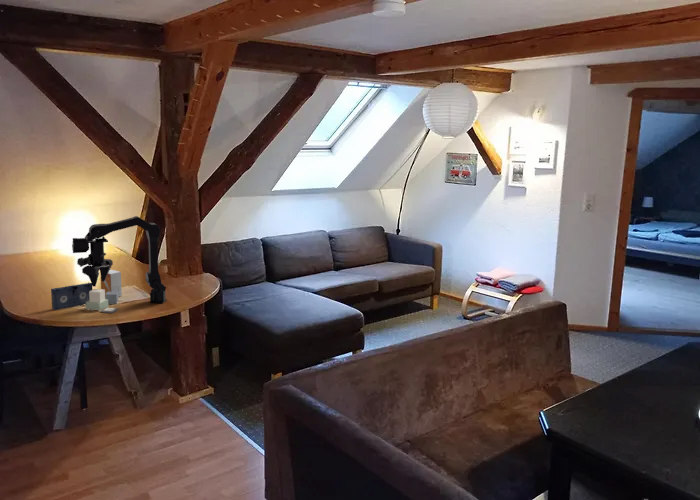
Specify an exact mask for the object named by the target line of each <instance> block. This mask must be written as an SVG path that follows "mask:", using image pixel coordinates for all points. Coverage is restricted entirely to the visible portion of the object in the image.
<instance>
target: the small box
mask: <svg viewBox="0 0 700 500" xmlns="http://www.w3.org/2000/svg"><path fill="white" fill-rule="evenodd" d="M100 289H104V290H105V294H106V293H107V292H117V291H118V298H120V297H122V296H123V295H122V293H123V292H122V272H121V271H118V270H116V269H110V270H109V272H108V274H107V277H106V279H105V281H104V282H103V281H102V279H101V278H100ZM105 298H106V296H105Z"/></svg>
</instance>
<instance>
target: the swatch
mask: <svg viewBox="0 0 700 500" xmlns="http://www.w3.org/2000/svg"><path fill="white" fill-rule="evenodd" d="M118 310H119V308H117V307H107V308H105V309H103V310H101V311H99V312H103V314H105V313H106V314H115V312H117V311H118Z"/></svg>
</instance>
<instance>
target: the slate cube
mask: <svg viewBox="0 0 700 500" xmlns="http://www.w3.org/2000/svg"><path fill="white" fill-rule="evenodd" d="M105 296H106V297H105V299H108V305H117V304H118V303H117V302H119V297H118V291H117V292H107V293H106V294H105Z"/></svg>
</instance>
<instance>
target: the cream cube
mask: <svg viewBox="0 0 700 500" xmlns="http://www.w3.org/2000/svg"><path fill="white" fill-rule="evenodd" d="M92 289H93V290H91V291H90V292H89V298H90V302H99V303H100V302H102V301H104V300H105V299H106V297H105V290H104V289H101V288H100V289H99V288H92Z"/></svg>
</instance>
